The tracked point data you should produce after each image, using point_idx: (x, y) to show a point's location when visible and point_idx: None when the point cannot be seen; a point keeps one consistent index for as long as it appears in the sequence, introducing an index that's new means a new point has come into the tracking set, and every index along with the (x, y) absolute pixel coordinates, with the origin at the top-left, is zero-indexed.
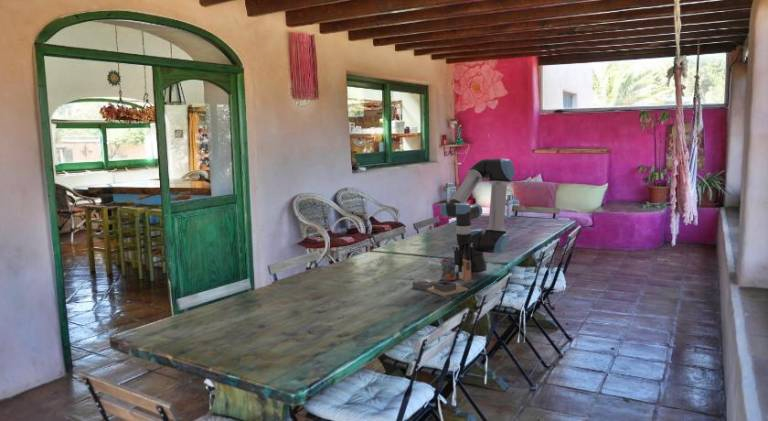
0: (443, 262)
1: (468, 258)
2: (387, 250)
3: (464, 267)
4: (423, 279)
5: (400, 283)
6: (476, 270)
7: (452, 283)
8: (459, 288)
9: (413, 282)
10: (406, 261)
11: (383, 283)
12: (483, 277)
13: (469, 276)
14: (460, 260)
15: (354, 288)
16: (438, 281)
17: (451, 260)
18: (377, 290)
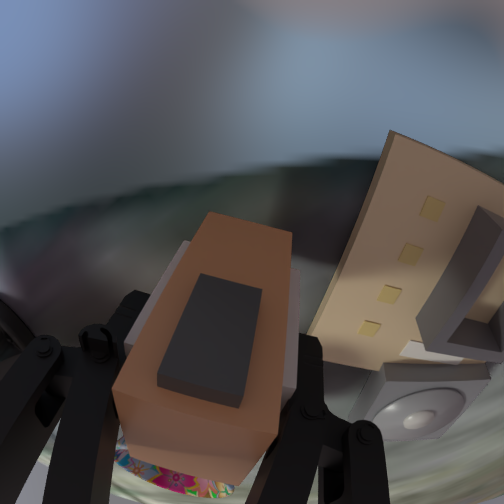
0: (233, 489)
1: (104, 440)
2: (119, 492)
3: (281, 352)
4: (394, 433)
5: (386, 455)
6: (9, 313)
7: (498, 262)
8: (442, 195)
9: (442, 432)
10: (141, 479)
11: (403, 471)
12: (28, 232)
13: (224, 233)
14: (304, 487)
15: (470, 470)
16: (395, 380)
17: (127, 458)
18: (488, 442)
